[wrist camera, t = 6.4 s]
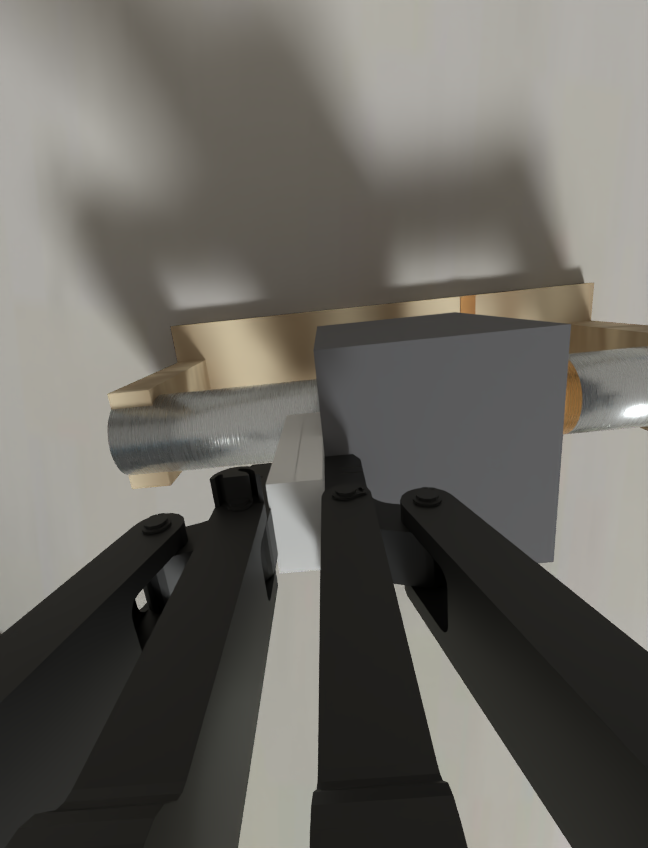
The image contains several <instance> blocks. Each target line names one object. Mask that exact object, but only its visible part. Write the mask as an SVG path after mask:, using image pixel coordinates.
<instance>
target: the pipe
mask: <svg viewBox="0 0 648 848" xmlns="http://www.w3.org/2000/svg"><path fill="white" fill-rule="evenodd" d="M314 412H320V408H319V398H318V389H317V380H316V379H312V380H302V381H292V382H282V383H272V384H262V385H252V386H242V387H232V388H222V389H212V390H202V391H192V392H182V393H172V394H162V395H159V396H158V397H157V398H156V399H155V401H154V402H153V405H152V406H142V407H132V408H122V409H112V410H111V412H110V415H109V420H108V442H109V447H110V451H111V455H112V457H113V460H114V462H115V464H116V465H117V467H118V468H119V469H120V471H122V472H123V473H124V474H126V475H137V474H148V473H158V472H173V471H184V470H194V469H205V468H215V467H226V466H236V465H247V464H257V463H268V462H273V459H274V455H275V452H276V449H277V445H278V442H279V439H280V436H281V432H282V429H283V426H284V423H285V419H286V416H287V415H294V414H304V413H314ZM645 426H648V346H642V347H632V348H622V349H612V350H602V351H592V352H582V353H572V354H569V359H568V373H567V386H566V400H565V413H564V426H563V434H572V433H582V432H593V431H603V430H614V429H624V428H635V427H645Z"/></svg>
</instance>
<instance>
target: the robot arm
mask: <svg viewBox="0 0 648 848" xmlns="http://www.w3.org/2000/svg"><path fill="white" fill-rule="evenodd" d="M210 483H211V488H212V493H213V498H214V503H215V509H214V511H213V513H212V515H211V517H210V519H209V520H208V521H205V522H202V523H198V524H195V525H191V526H187V527H186V526H185V522H184V518H183V517H182V516H181V515H179V514H174V513H167V514H165V513H161V514H158V515H157V514H156V515H153V516H150V517H149V518H147V519H145V520H142V521H141V522H139V523H138V524H136V525H135V526H133V527H132V528H131V529H130V530H129V531H127V532H126V533H125V534H124V535H122V536H121V537H120V538H119V539H118V540H116V541H115V542H114V543H113V544H111V545H110V546H109V547H108V548H107V549H105V550H104V551H103V552H102V553H100V554H99V555H98V556H97V557H96V558H94V559H93V560H92V561H91V562H89V563H88V564H87V565H86V566H85V567H83V568H82V569H81V570H80V571H78V572H77V573H76V574H75V575H74V576H72V577H71V578H70V579H69V580H67V581H66V582H65V583H64V584H63V585H61V586H60V587H59V588H58V589H56V590H55V591H54V592H53V593H52V594H50V595H49V596H48V597H47V598H45V599H44V600H43V601H42V602H41V603H39V604H38V605H37V606H36V607H34V608H33V609H32V610H31V611H30V612H28V613H27V614H26V615H25V616H23V617H22V618H21V619H20V620H19V621H17V622H16V623H15V624H14V625H12V626H11V627H10V628H9V629H8V630H6V631H5V632H4V633H3V634H1V635H0V848H238V843H239V837H240V830H241V824H242V817H243V811H244V804H245V797H246V791H247V784H248V778H249V771H250V765H251V758H252V752H253V745H254V739H255V732H256V725H257V719H258V712H259V706H260V699H261V693H262V686H263V680H264V673H265V667H266V660H267V653H268V647H269V640H270V634H271V627H272V621H273V614H274V608H275V601H276V595H277V588H278V583H277V576H276V570H275V569H276V563H277V560H278V567H279V573H280V574H281V573H292V572H303V571H314V570H320V650H319V733H318V783H317V790H315V791H314V792H313V797H312V804H311V823H310V848H468V847H467V843H466V840H465V836H464V832H463V828H462V824H461V821H460V817H459V814H458V810H457V807H456V803H455V800H454V797H453V794H452V791H451V789H450V787H449V784H448V782H445V781H443V780H442V777H441V775H440V772H439V768H438V765H437V761H436V757H435V753H434V749H433V745H432V740H431V736H430V732H429V728H428V724H427V720H426V716H425V712H424V708H423V703H422V699H421V695H420V691H419V687H418V683H417V679H416V675H415V671H414V666H413V662H412V658H411V654H410V650H409V646H408V642H407V638H406V634H405V629H404V625H403V621H402V617H401V613H400V609H399V605H398V601H397V597H396V592H395V588H394V584H401V585H405V591H406V593H407V596H408V597H409V599H410V600H411V602H412V603H413V605H414V607H415V608H416V610H417V611H418V613H419V614H420V616H421V617H422V619H423V620H424V622H425V623H426V625H427V626H428V628H429V629H430V631H431V633H432V634H433V636H434V637H435V639H436V640H437V642H438V643H439V645H440V646H441V648H442V649H443V651H444V652H445V654H446V656H447V657H448V659H449V660H450V662H451V663H452V665H453V666H454V668H455V669H456V671H457V672H458V674H459V675H460V677H461V678H462V680H463V682H464V683H465V685H466V686H467V688H468V689H469V691H470V692H471V694H472V695H473V697H474V698H475V700H476V701H477V703H478V704H479V706H480V708H481V709H482V711H483V712H484V714H485V715H486V717H487V718H488V720H489V721H490V723H491V724H492V726H493V727H494V729H495V731H496V732H497V734H498V735H499V737H500V738H501V740H502V741H503V743H504V744H505V746H506V747H507V749H508V750H509V752H510V753H511V755H512V757H513V758H514V760H515V761H516V763H517V764H518V766H519V767H520V769H521V770H522V772H523V773H524V775H525V776H526V778H527V779H528V781H529V783H530V784H531V786H532V787H533V789H534V790H535V792H536V793H537V795H538V796H539V798H540V799H541V801H542V802H543V804H544V806H545V807H546V809H547V810H548V812H549V813H550V815H551V816H552V818H553V819H554V821H555V822H556V824H557V825H558V827H559V828H560V830H561V832H562V833H563V835H564V836H565V838H566V839H567V841H568V842H569V844H570V845H571V847H572V848H648V651H646V650H645V649H644V648H643V647H641V646H640V645H639V644H638V643H636V642H635V641H634V640H633V639H631V638H630V637H629V636H628V635H626V634H625V633H624V632H623V631H621V630H620V629H619V628H618V627H616V626H615V625H614V624H613V623H611V622H610V621H609V620H608V619H606V618H605V617H604V616H603V615H601V614H600V613H599V612H598V611H596V610H595V609H594V608H593V607H591V606H590V605H589V604H588V603H586V602H585V601H584V600H583V599H581V598H580V597H579V596H578V595H576V594H575V593H574V592H573V591H571V590H570V589H569V588H568V587H566V586H565V585H564V584H563V583H561V582H560V581H559V580H558V579H556V578H555V577H554V576H553V575H551V574H550V573H549V572H548V571H547V570H545V569H544V568H543V567H542V566H540V565H539V564H538V563H537V562H535V561H534V560H533V559H532V558H530V557H529V556H528V555H527V554H525V553H524V552H523V551H522V550H520V549H519V548H518V547H517V546H515V545H514V544H513V543H512V542H510V541H509V540H508V539H507V538H505V537H504V536H503V535H502V534H500V533H499V532H498V531H497V530H495V529H494V528H493V527H492V526H490V525H489V524H488V523H487V522H485V521H484V520H483V519H482V518H480V517H479V516H478V515H477V514H475V513H474V512H473V511H472V510H470V509H469V508H468V507H467V506H465V505H464V504H463V503H462V502H460V501H459V500H458V499H457V498H455V497H454V496H453V495H452V494H450V493H448V492H446V491H444V490H440V489H436V488H434V487H429V488H428V487H422V488H417V489H413V490H410V491H407V492H406V493H404V494H403V495H402V496H401V499H400V504H392V503H385V502H381V501H378V500H376V499H374V498H373V497H372V494H371V491H370V490H369V488H367V485H366V481H365V476H364V472H363V468H362V464H361V459H360V458H358V457H357V456H355V455H354V454H348V455H338V456H327V457H325V455H324V445H323V436H322V427H321V417H320V412H314V413H304V414H294V415H287V416H286V419H285V423H284V426H283V429H282V432H281V436H280V439H279V442H278V445H277V449H276V452H275V455H274V459H273V462H272V463H267V464H256V465H252V466H250V467H249V466H244V467H234V468H229V469H226V470H223V471H220V472H218V473H217V474H215V475H213V476H212V477H211V478H210ZM393 583H394V584H393ZM142 589H144V593H145V597H146V600H147V603H146V604H145V605H144V606H143V608H141V609H140V610H139V609H138V607H137V604H136V601H135V598H136V597H137V595H138V594H139V592H140V591H141V590H142Z"/></svg>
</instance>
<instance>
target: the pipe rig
mask: <svg viewBox="0 0 648 848" xmlns="http://www.w3.org/2000/svg"><path fill="white" fill-rule="evenodd" d="M593 289H594V283H582V284H573V285H563V286H554V287H544V288H534V289H525V290H515V291H505V292H496V293H486V294H476V295H467V296H457V297H448V298H438V299H428V300H419V301H409V302H399V303H390V304H380V305H371V306H361V307H351V308H342V309H332V310H322V311H313V312H303V313H294V314H284V315H274V316H265V317H255V318H245V319H236V320H226V321H216V322H207V323H197V324H188V325H178V326H171V332H172V337H173V342H174V347H175V352H176V357H177V362H178V363H176V364H174V365H171V366H169V367H167V368H165V369H162V370H160V371H158V372H156V373H153V374H151V375H149V376H147V377H144V378H142V379H140V380H138V381H136V382H133V383H131V384H129V385H127V386H124V387H122V388H120V389H118V390H115V391H113V392H111V393H109V394H107V395H108V398H109V402H110V406H111V410H112V409H122V408H132V407H142V406H152V405H153V402H154V401H155V399H156V398H157V397H158V396H159V395H162V394H172V393H182V392H192V391H202V390H212V389H222V388H232V387H242V386H252V385H262V384H272V383H282V382H292V381H302V380H312V379H316V370H315V361H314V352H313V349H314V343H315V337H316V330H317V326H326V325H335V324H345V323H355V322H364V321H374V320H384V319H394V318H403V317H413V316H423V315H432V314H442V313H452V312H458V313H468V314H478V315H488V316H497V317H507V318H517V319H527V320H536V321H546V322H556V323H566V324H571V332H570V346H569V354H572V353H582V352H592V351H602V350H612V349H622V348H632V347H642V346H648V325H637V324H625V323H613V322H601V321H591V312H592V301H593ZM640 428H643V429H645V430H648V426H645V427H640ZM181 472H182V471H173V472H158V473H148V474H137V475H129V479H130V483H131V487H132V489H138V488H149V487H159V486H170V485H171V484H172V483H173V482H174V481H175V479H176V478H177V477H178V476H179V474H180V473H181Z"/></svg>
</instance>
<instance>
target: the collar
mask: <svg viewBox="0 0 648 848" xmlns="http://www.w3.org/2000/svg"><path fill="white" fill-rule="evenodd" d="M570 332H571V324H566V323H556V322H546V321H536V320H527V319H517V318H507V317H497V316H488V315H478V314H468V313H458V312H452V313H442V314H432V315H423V316H413V317H403V318H394V319H384V320H374V321H364V322H355V323H345V324H335V325H326V326H317V330H316V337H315V343H314V349H313V352H314V361H315V370H316V380H317V389H318V398H319V408H320V417H321V427H322V436H323V445H324V455H325V457H327V456H338V455H348V454H354V455H355V456H357V457H358V458H360V459H361V464H362V468H363V472H364V476H365V481H366V485H367V488H369V490H370V491H371V494H372V497H373V498H374V499H376V500H378V501H381V502H385V503H392V504H400V499H401V496H402V495H403V494H404V493H406V492H407V491H410V490H413V489H417V488H422V487H428V488H429V487H434V488H436V489H440V490H444V491H446V492H448V493H450V494H452V495H453V496H454V497H455V498H457V499H458V500H459V501H460V502H462V503H463V504H464V505H465V506H467V507H468V508H469V509H470V510H472V511H473V512H474V513H475V514H477V515H478V516H479V517H480V518H482V519H483V520H484V521H485V522H487V523H488V524H489V525H490V526H492V527H493V528H494V529H495V530H497V531H498V532H499V533H500V534H502V535H503V536H504V537H505V538H507V539H508V540H509V541H510V542H512V543H513V544H514V545H515V546H517V547H518V548H519V549H520V550H522V551H523V552H524V553H525V554H527V555H528V556H529V557H530V558H532V559H533V560H534V561H535V562H537V563H546V562H553V561H554V547H555V534H556V520H557V507H558V493H559V480H560V467H561V453H562V440H563V426H564V413H565V400H566V386H567V373H568V359H569V346H570Z"/></svg>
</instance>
